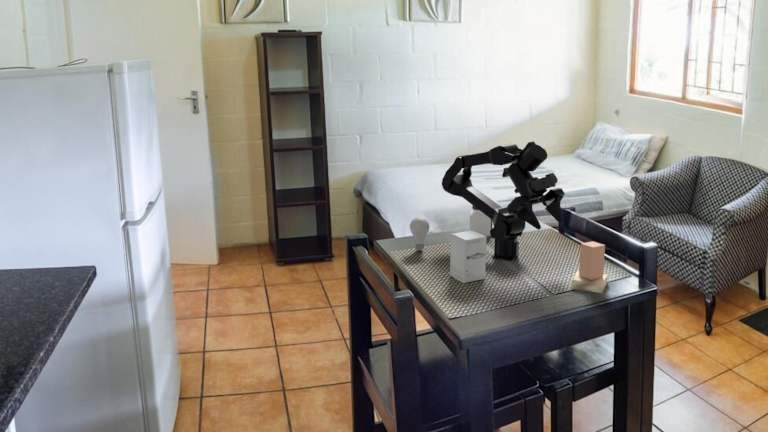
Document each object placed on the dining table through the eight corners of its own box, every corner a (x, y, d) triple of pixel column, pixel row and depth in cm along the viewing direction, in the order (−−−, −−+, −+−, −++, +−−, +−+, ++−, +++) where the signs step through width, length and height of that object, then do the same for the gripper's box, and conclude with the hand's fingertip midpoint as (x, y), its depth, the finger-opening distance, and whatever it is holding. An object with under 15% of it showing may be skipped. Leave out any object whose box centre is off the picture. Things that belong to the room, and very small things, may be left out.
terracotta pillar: (578, 275, 191) (580, 243, 189) (591, 273, 193) (593, 241, 191) (590, 280, 187) (592, 247, 185) (602, 277, 189) (605, 245, 187)
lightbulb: (432, 249, 223) (432, 216, 220) (423, 255, 218) (423, 220, 215) (416, 246, 226) (415, 213, 223) (406, 252, 221) (406, 218, 218)
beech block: (571, 290, 189) (571, 279, 189) (577, 280, 196) (577, 270, 195) (601, 294, 186) (602, 284, 185) (606, 284, 193) (607, 274, 192)
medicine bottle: (490, 236, 235) (491, 201, 232) (469, 235, 236) (470, 201, 233) (492, 230, 242) (493, 196, 239) (471, 229, 243) (471, 195, 240)
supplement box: (464, 284, 194) (464, 240, 190) (449, 275, 200) (449, 233, 196) (486, 279, 197) (487, 236, 193) (471, 271, 203) (471, 229, 200)
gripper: (516, 168, 193) (545, 216, 187) (561, 160, 203) (590, 205, 198) (494, 191, 201) (521, 237, 195) (539, 182, 212) (566, 225, 206)
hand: (551, 225), depth 198 cm, fingers open, 9 cm apart
